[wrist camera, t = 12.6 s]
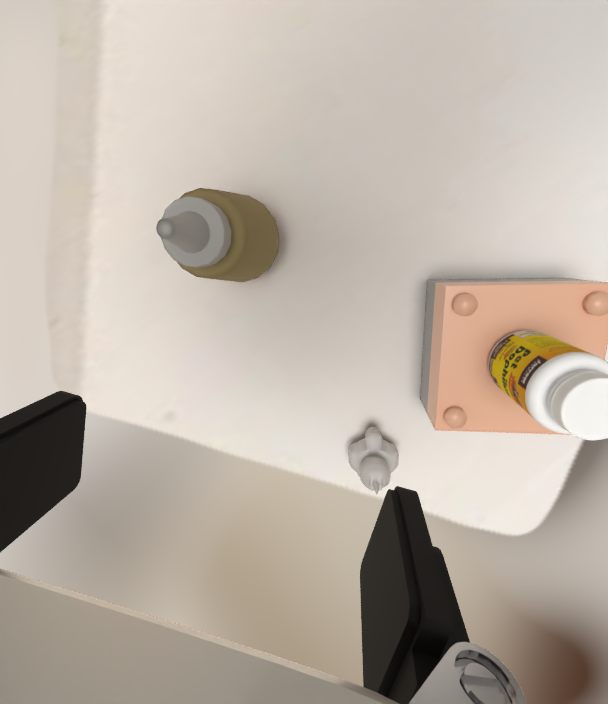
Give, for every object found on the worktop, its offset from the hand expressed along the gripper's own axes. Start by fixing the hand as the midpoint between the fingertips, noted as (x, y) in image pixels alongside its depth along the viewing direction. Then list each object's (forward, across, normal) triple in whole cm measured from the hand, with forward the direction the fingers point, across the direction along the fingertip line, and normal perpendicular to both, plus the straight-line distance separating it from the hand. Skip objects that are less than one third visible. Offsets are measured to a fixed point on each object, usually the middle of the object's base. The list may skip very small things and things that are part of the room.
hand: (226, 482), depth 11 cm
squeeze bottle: (+31, +9, -6) cm, 32 cm away
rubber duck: (+31, -10, +13) cm, 35 cm away
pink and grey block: (+30, -18, -2) cm, 35 cm away
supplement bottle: (+23, -18, -2) cm, 29 cm away
